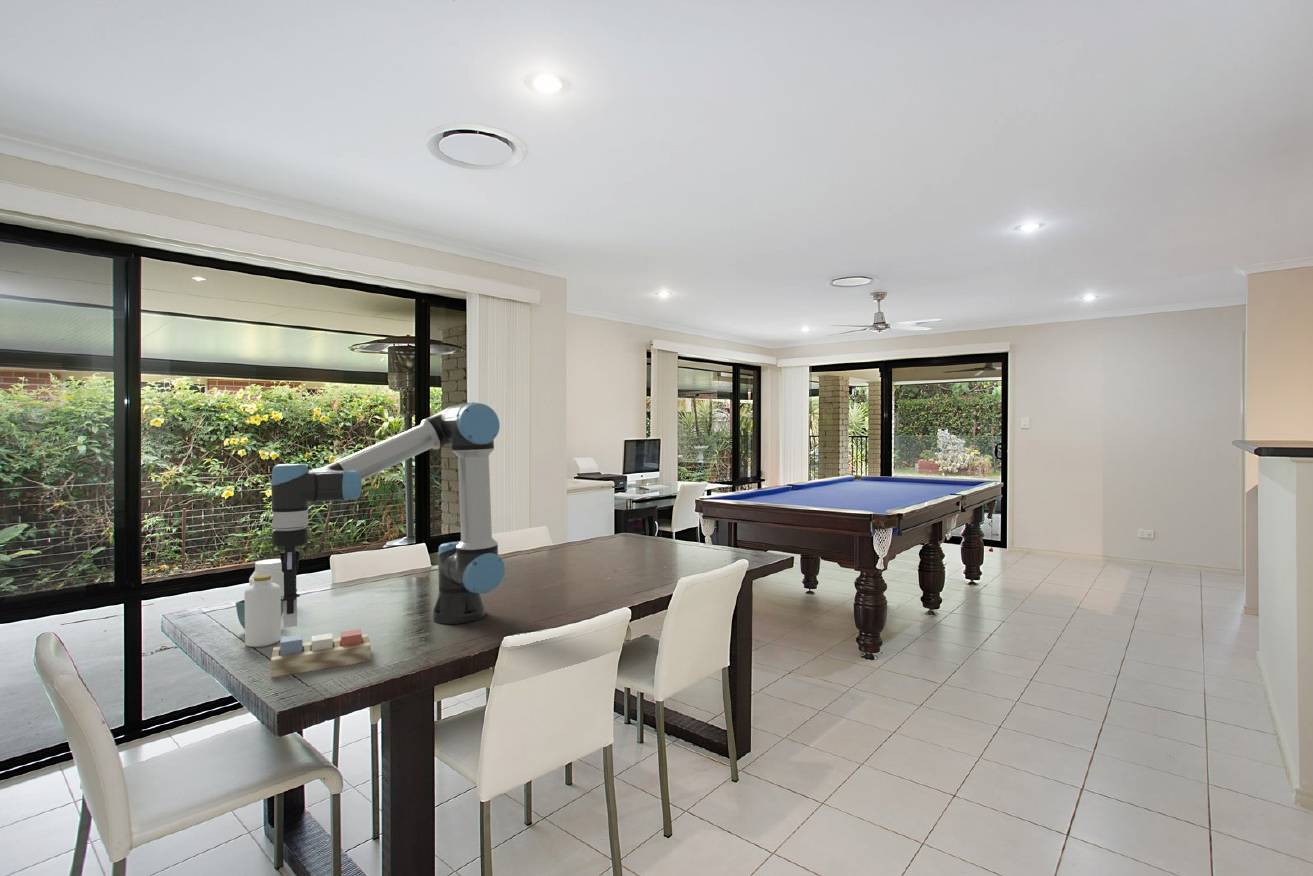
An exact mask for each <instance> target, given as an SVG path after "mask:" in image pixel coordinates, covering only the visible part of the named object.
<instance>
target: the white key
mask: <svg viewBox="0 0 1313 876" xmlns="http://www.w3.org/2000/svg"><path fill="white" fill-rule="evenodd" d="M333 639H334V638H333V633H332V632H331V633H324V634H323V633H322V634H317V635H312V636H311V642H312V651H315V650H322V649H328V648H333Z"/></svg>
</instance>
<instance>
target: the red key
mask: <svg viewBox="0 0 1313 876" xmlns="http://www.w3.org/2000/svg"><path fill="white" fill-rule="evenodd" d="M340 638H341V646H348V645H355V644H361V643H362V631H361V628H360V629H353V630H346V631H340Z"/></svg>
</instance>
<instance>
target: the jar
mask: <svg viewBox="0 0 1313 876" xmlns="http://www.w3.org/2000/svg"><path fill="white" fill-rule="evenodd" d="M254 567H255V568H254V571H253V572H252V574H250V577H249V579H248V582H249V587H250V586H251V585H253V584H254V583H253V580H254V577H255V576H259V575H271V578H272V581H271V582H272V583H275V584H278V585H279V586H280V589H281V596H284V573H283V572H282V562H281V560H280V558H271V559H270V558H269V559H263V560H258V561H256V562H255V563H254ZM283 610H284V605H283Z"/></svg>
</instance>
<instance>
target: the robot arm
mask: <svg viewBox="0 0 1313 876" xmlns="http://www.w3.org/2000/svg"><path fill="white" fill-rule="evenodd" d="M500 424H501V423H500V419H499V417H498V414H497V413H496V412H495V410H493V408H491V407H490V406H489V405H487V404H485V403H482V402H480V403H479V402H473V401H472V402H467V403H458V404H457V403H456V404H453V405H450V406H448V407H446V408H443V409H442V410H440V411H438V412H436V413H434V414H432V415H431V416H429V417H426V418H424V419H422V420H421V422H420V424H418V425H416V426H414V427H412V428H410V429H407V430H405V431H403V432H401V433H398V434H396V435H394V436H392V437H389V438H387V439H384V440H382V441H380V442H377V443H376V444H373V445H371V446H367V447H365V448H364V449H362V450H359V451H357V452H355V453H353V454H350V455H347V456H346V457H343V458H340V459H339V460H336V461H334V462H332V463H329V464H327V465H325V466H323V467H322V466H321V467H316V468H313V469H312V470H310V471H309V469H308V464H305V463H282V464H276V465H274V466H273V468H272V469H271V470H272V471H271V472H272V473H271V474H272V475H271V483H270V485H271V515H269V516H268V519H269V520H272V521H271V527H272V528H273V530H272V531H271V545H272V546H274V547H278V548H279V547H280V548H281V547H283V549H284V550H283V551H281V552H280V558H279V559H280V560H281V562H282V572H283V573H284V596H283V598H281V601H284V609H283V629H285V628H292V627H294V628H295V627H297V626H298V597H299V598H300V597H301V594H300V593H297V592H298V588H297V572H298V571H299V561H300V558H301V557H300V553H301V552H300V550H297V548H296V547H297V546H304V545H306V544H307V543H308V542H309V529H308V528H307V526H308V525H309V509H308V505H309V503H316V502H318V503H319V502H336V501H344V502H346V501H349V500H350V501H351V500H352V501H353V500H357V499H358V498H359V497H360V496H361V494H362V491H363V490H362V488H363V486H362V481H363V480H365V479H367V478H370V477H372V476H374V475H376V474H379V473H381V472H383V471H385V470H387V469H390V468H392V467H394V466H396V465H398V464H400V463H402V462H404V461H407V460H409V459H410V458H413V457H416V456H418V455H420V454H422V453H424V452H426V451H429V450H431V449H434V450H439V449H441V448H443V447H446V446H449V445H451V452H452V453H454V454H455V456H456V457H457V467H458V468H457V469H458V471H457V472H458V473H457V474H458V491H459V493H458V496H459V516H460V517H459V519H460V540H458V541H451V542H450V541H449V542H446V543H445V542H444V543H441V544H440V545H439V546H438V553H437V557H438V558H437V559H438V560H437V561H438V567H437V568H438V596H437V597H436V601H435V605H434V607H433V609H432V610H433V611H432V620H433V622H435V623H439V624H446V625H455V624H456V625H458V624H467V623H471V622H475V621H478V620H480V619H482V618H483V617H485V615H486V610H485V608H486V607H485V604H484V601H483V599H482V595H481V594H488V593H490V592H492V591H494V590H495V589H496V588H498V586H499V585H500V584H501V583H502V581H503V579H504V577H505V574H506V565H505V562H504V560H503V559H502V557H500V556H499V545H498V541H496V540H495V539H494V538H493V532H492V531H493V529H492V527H493V526H492V504H491V502H492V501H491V481H490V480H491V478H490V476H491V475H490V474H491V473H490V454H492V452H493V451H494V450H495V446H494V445H495V442H494V441H495V439H496V437H497V436H498V434H499V432H500V427H501V425H500Z"/></svg>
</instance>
